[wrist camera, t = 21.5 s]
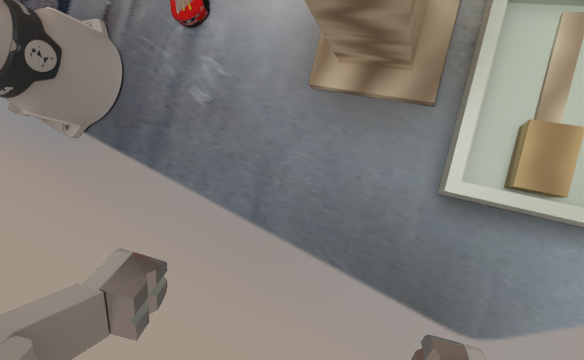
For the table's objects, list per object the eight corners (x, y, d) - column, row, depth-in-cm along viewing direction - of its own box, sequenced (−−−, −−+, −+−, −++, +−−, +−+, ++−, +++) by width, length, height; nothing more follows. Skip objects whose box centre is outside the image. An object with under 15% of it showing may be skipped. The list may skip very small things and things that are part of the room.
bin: (437, 193, 36) (444, 190, 27) (487, -3, 36) (512, -76, 26) (612, 234, 31) (697, 248, 22) (674, 5, 31) (788, -81, 21)
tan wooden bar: (503, 187, 33) (513, 186, 30) (547, 15, 33) (562, -6, 30) (552, 197, 32) (567, 197, 29) (598, 17, 32) (619, -4, 28)
